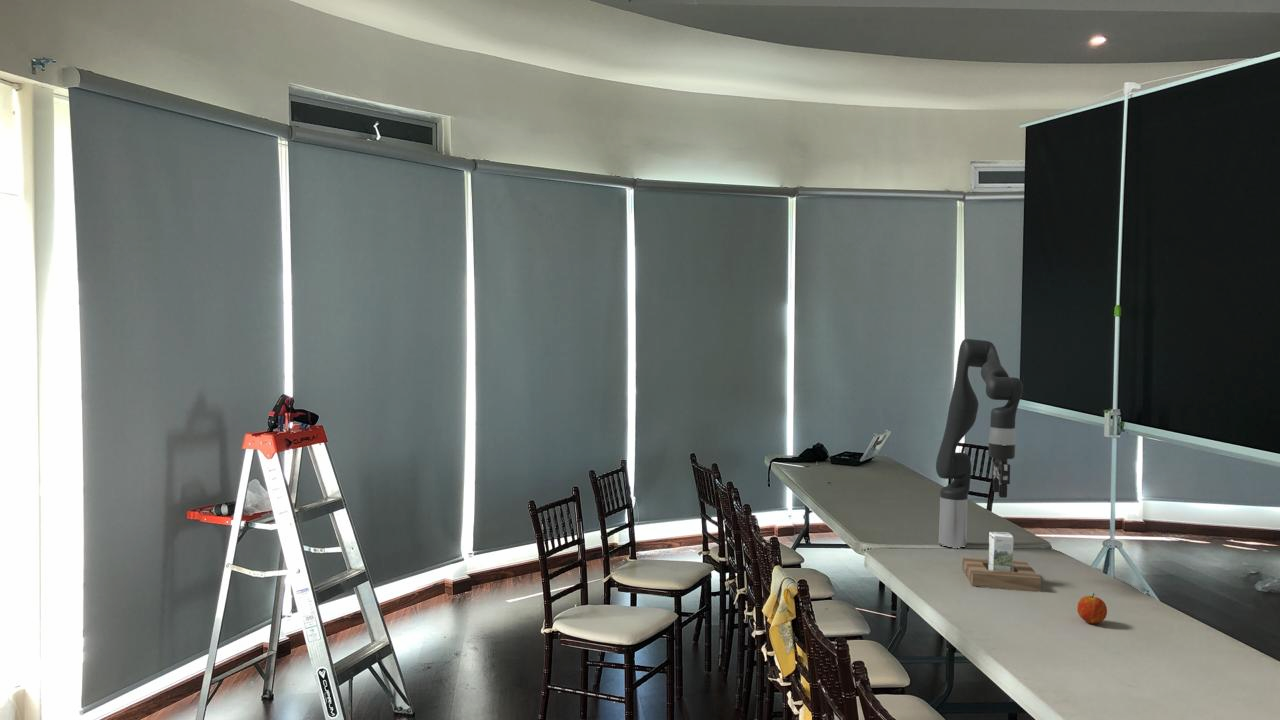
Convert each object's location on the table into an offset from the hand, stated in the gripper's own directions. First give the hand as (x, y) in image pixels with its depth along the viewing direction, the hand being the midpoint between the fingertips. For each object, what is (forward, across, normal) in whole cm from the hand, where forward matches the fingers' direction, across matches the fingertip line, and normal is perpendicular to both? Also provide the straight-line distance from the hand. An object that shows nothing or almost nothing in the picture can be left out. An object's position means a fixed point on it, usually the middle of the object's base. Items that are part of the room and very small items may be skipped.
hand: (1000, 494), depth 269 cm
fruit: (+26, +37, +17) cm, 48 cm away
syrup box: (+26, +1, +1) cm, 26 cm away
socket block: (+26, +1, +1) cm, 26 cm away
